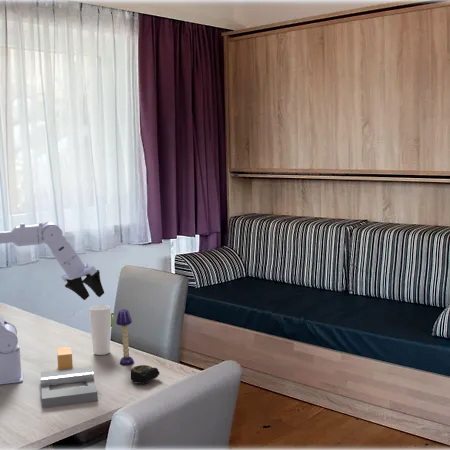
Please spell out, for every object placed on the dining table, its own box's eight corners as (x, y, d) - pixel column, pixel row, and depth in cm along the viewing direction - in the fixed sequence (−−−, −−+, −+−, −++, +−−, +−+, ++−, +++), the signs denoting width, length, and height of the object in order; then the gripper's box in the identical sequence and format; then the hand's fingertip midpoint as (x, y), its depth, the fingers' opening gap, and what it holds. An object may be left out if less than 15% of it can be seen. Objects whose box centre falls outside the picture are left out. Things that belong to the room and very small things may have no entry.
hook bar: (41, 385, 172) (40, 380, 172) (41, 383, 174) (40, 377, 174) (94, 379, 176) (93, 373, 176) (93, 377, 178) (93, 371, 178)
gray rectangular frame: (42, 408, 164) (41, 398, 164) (41, 380, 183) (40, 371, 183) (97, 400, 168) (97, 391, 168) (91, 374, 187) (90, 366, 187)
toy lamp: (130, 366, 193) (128, 312, 191) (115, 365, 194) (113, 311, 192) (135, 360, 198) (133, 308, 195) (121, 360, 198) (119, 307, 196)
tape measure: (144, 387, 177) (143, 374, 176) (125, 382, 180) (125, 370, 180) (159, 379, 182) (159, 367, 182) (141, 375, 186) (141, 362, 186)
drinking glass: (102, 357, 201) (100, 311, 199) (86, 354, 204) (84, 308, 202) (116, 351, 206) (115, 306, 204) (101, 348, 210) (99, 303, 208)
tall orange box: (58, 375, 187) (57, 355, 186) (57, 367, 193) (56, 347, 192) (72, 373, 188) (71, 353, 187) (71, 365, 194) (70, 346, 194)
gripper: (91, 247, 183) (117, 285, 187) (64, 255, 193) (88, 291, 197) (75, 261, 179) (102, 300, 183) (48, 268, 188) (73, 305, 192)
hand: (94, 296), depth 189 cm, fingers open, 7 cm apart
